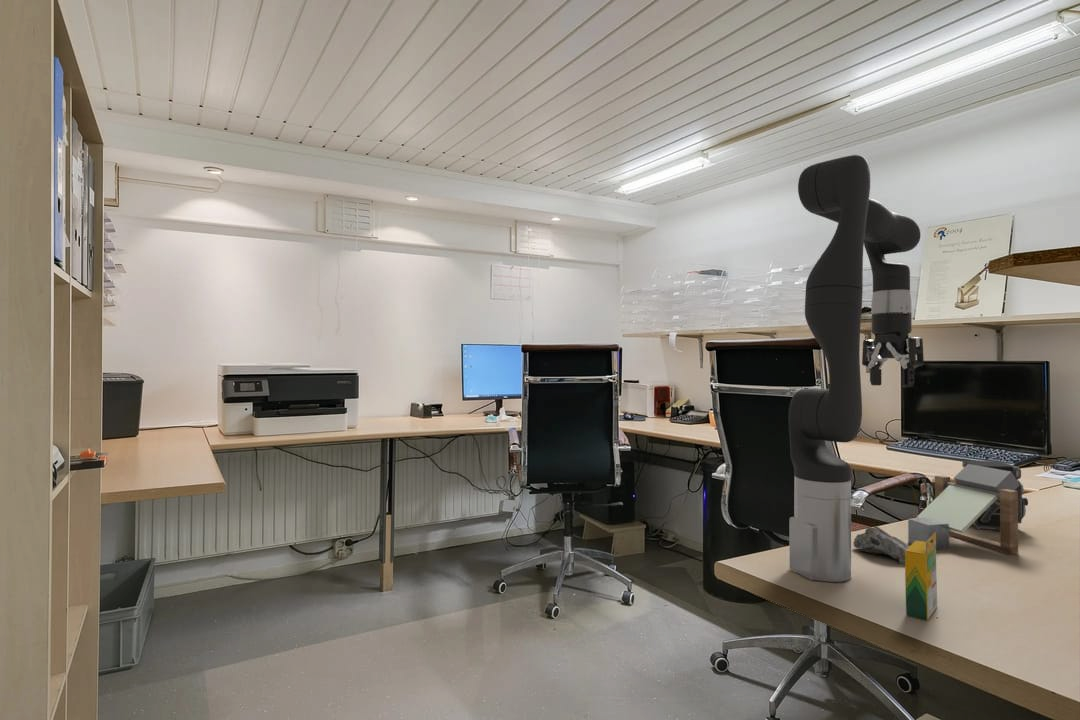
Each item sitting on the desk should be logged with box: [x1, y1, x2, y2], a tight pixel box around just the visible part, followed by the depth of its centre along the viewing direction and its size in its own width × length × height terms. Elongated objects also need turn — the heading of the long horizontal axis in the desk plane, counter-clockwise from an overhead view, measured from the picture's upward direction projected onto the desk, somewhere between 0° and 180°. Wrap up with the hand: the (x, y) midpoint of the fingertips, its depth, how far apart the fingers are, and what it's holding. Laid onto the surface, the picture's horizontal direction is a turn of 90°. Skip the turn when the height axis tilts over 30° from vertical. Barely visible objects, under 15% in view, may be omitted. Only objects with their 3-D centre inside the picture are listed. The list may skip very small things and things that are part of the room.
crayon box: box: [904, 532, 938, 621], centre depth 89 cm, size 7×3×12 cm, turn 136°
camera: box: [961, 460, 1029, 531], centre depth 135 cm, size 10×10×15 cm
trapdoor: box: [916, 464, 1019, 533], centre depth 123 cm, size 17×13×4 cm
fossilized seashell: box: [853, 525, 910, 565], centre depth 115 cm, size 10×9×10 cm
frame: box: [934, 475, 1019, 555], centre depth 124 cm, size 2×17×12 cm, turn 12°
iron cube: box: [907, 517, 950, 550], centre depth 121 cm, size 5×5×5 cm
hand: (891, 386), depth 127 cm, fingers open, 8 cm apart
